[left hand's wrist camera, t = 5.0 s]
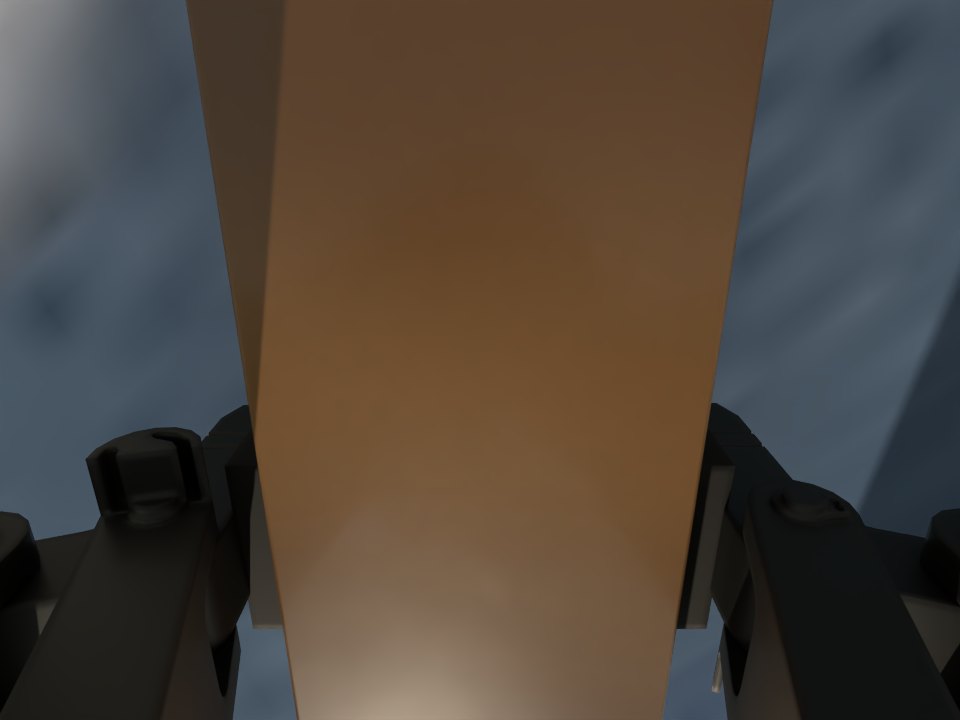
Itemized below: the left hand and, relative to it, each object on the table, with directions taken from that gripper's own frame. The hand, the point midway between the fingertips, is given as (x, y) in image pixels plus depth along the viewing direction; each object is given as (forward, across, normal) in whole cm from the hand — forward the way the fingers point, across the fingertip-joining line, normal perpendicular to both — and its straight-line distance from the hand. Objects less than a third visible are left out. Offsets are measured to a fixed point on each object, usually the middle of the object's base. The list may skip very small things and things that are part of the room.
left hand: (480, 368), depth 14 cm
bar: (+1, 0, -24) cm, 25 cm away
